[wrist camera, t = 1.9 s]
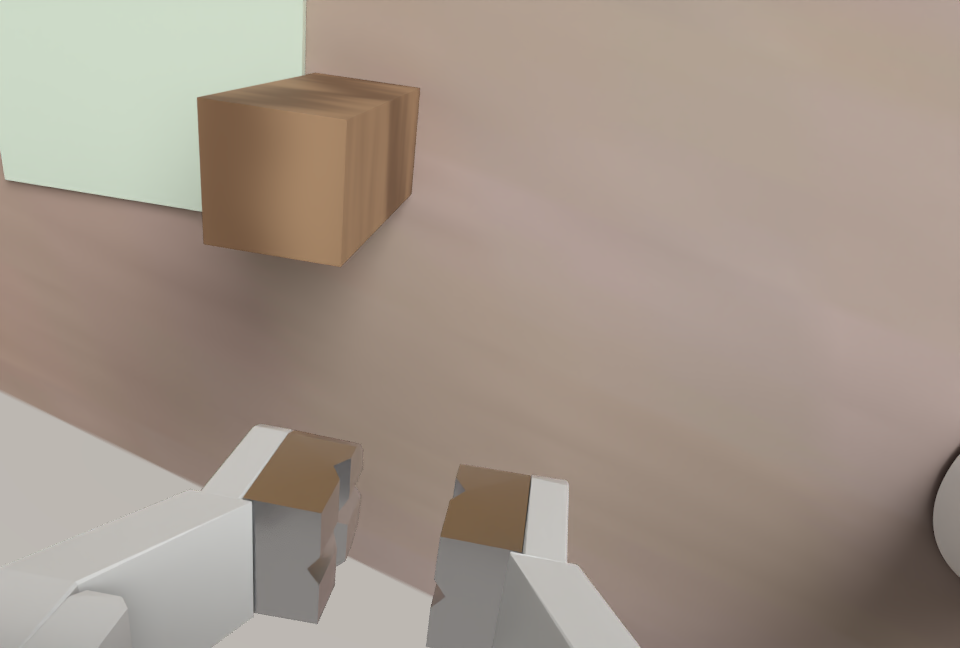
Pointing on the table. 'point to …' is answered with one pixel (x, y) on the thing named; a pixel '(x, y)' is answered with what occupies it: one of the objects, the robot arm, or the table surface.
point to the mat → (130, 87)
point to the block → (305, 164)
